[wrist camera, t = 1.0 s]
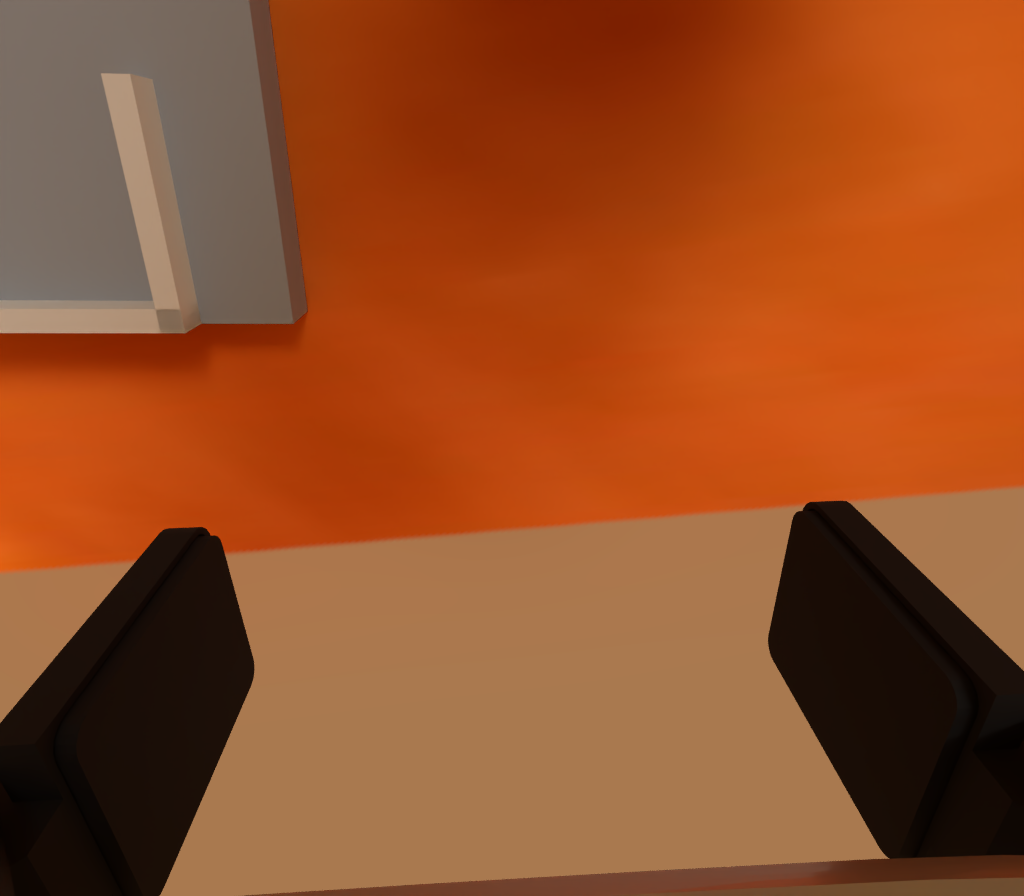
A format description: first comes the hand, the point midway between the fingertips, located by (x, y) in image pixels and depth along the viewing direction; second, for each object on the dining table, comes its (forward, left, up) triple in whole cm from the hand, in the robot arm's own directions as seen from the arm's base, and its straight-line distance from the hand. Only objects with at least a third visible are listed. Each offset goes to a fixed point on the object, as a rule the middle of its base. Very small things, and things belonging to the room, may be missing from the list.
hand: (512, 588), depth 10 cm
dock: (-8, -22, -28) cm, 36 cm away
